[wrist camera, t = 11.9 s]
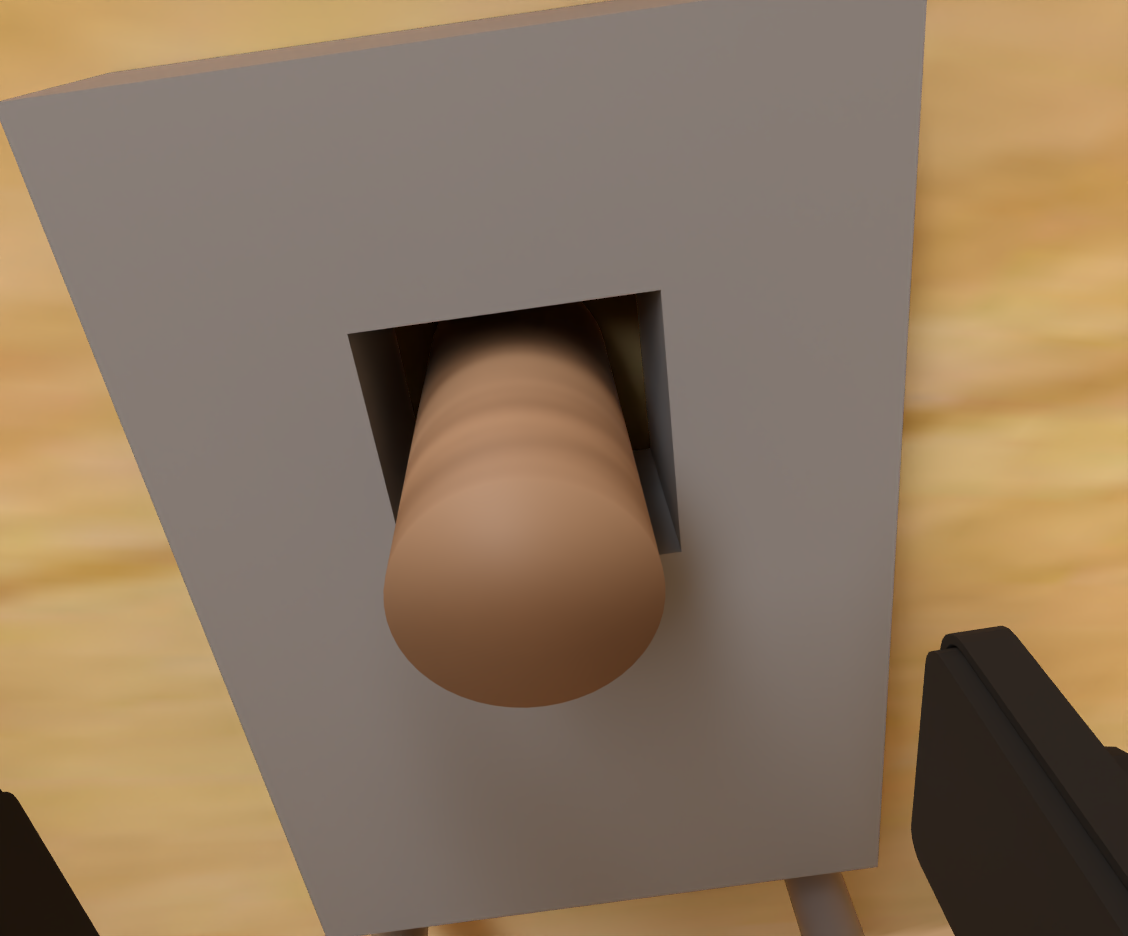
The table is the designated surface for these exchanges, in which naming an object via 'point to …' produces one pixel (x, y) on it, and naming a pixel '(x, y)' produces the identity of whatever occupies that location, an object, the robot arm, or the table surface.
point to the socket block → (499, 284)
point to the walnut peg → (522, 516)
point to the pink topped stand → (814, 900)
